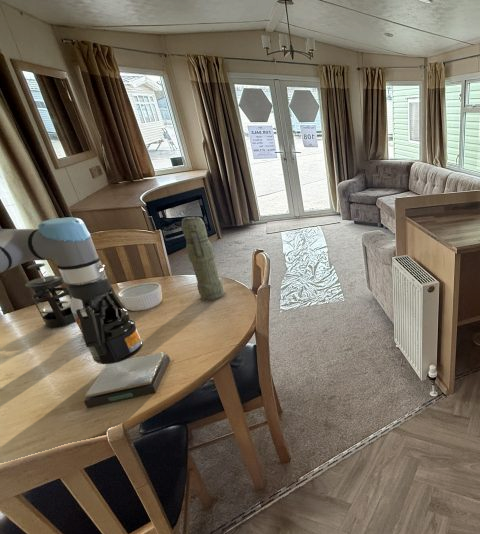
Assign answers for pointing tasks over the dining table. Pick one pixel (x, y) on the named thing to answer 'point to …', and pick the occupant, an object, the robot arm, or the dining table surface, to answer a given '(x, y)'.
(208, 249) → the green tiki statue
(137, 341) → the supplement container
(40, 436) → the dining table surface
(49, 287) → the french press
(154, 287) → the ramekin
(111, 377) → the grey flat slab
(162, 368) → the scale
